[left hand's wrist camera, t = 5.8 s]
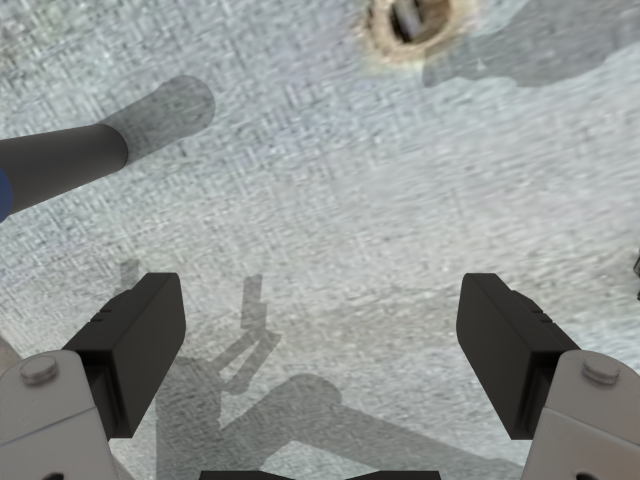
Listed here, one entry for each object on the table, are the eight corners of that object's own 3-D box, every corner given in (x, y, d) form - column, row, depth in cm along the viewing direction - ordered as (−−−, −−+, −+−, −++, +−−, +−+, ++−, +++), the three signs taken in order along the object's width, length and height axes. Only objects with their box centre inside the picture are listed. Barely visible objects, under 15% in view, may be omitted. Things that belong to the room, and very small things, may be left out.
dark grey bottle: (136, 143, 38) (0, 185, 22) (115, 181, 40) (-28, 247, 23) (91, 114, 37) (-86, 134, 21) (71, 154, 39) (-110, 202, 22)
